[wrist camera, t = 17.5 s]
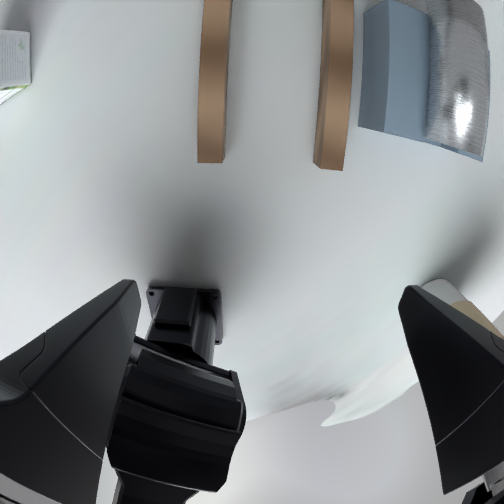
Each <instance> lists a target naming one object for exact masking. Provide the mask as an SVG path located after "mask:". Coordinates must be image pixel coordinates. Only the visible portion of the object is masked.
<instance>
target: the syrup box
mask: <svg viewBox="0 0 504 504" xmlns="http://www.w3.org/2000/svg"><path fill="white" fill-rule="evenodd" d="M30 83H31V64H30V33H29V32H25V31H15V30H3V29H0V105H1V104H2V103H3V102H5V101H6V100H8V99H9V98H10V97H12V96H13V95H15V94H16V93H18V92H19V91H21V90H23V89H24V88H26V87H27V86H29V85H30Z"/></svg>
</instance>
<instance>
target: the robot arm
mask: <svg viewBox="0 0 504 504" xmlns="http://www.w3.org/2000/svg"><path fill="white" fill-rule="evenodd" d="M150 291H152V292H154V293H151V292H150ZM146 295H147V299H148V304H149V308H150V312H151V317H152V320H151V323H150V326H149V329H148V332H147V334H146V337H145V339H142V338H140V337H138V336H136V334H135V332H136V327H137V322H138V317H139V313H140V308H141V299H140V295H139V291H138V286H137V283H136V281H135V280H128V279H123V280H121V281H120V282H118V283H117V284H115V285H114V286H112V287H111V288H109V289H107V290H106V291H104V292H103V293H101V294H100V295H98V296H97V297H95V298H94V299H92V300H91V301H89V302H88V303H86V304H84V305H83V306H81V307H80V308H78V309H77V310H76V311H74V312H73V313H71V314H70V315H68V316H67V317H65V318H64V319H62V320H61V321H59V322H58V323H56V324H55V325H54V326H52V327H51V328H49V329H48V330H46V333H45V332H43V333H42V334H41V335H39V336H38V337H36V338H35V339H34V340H32V341H31V342H29V343H28V344H26V345H25V346H23V347H22V348H20V349H18V350H17V351H15V352H14V353H12V354H11V355H9V356H7V357H6V358H4V359H2V360H1V361H0V504H96V497H97V490H98V484H99V478H100V473H101V467H102V460H103V456H104V451H105V447H106V448H107V454H108V458H109V461H110V464H111V467H112V468H114V469H115V471H116V474H117V476H118V481H117V485H116V489H115V493H114V498H113V503H112V504H185V503H186V501H187V500H188V499H189V498H191V497H193V496H194V495H195V494H197V493H198V492H199V491H205V492H212V493H215V492H217V491H218V490H219V489H220V488H221V487H222V486H223V485H224V483H225V482H226V479H227V475H228V470H229V464H230V461H231V457H232V454H233V451H234V448H235V446H236V444H237V442H238V440H239V439H240V437H241V435H242V432H243V430H244V426H245V422H246V406H245V402H244V399H243V395H242V391H241V387H240V383H239V379H238V375H237V372H234V371H231V370H229V371H227V370H224V369H221V368H218V367H215V366H212V363H213V354H214V345H220V344H221V343H222V313H221V293H220V291H218V290H214V289H194V288H175V287H155V286H150V287H148V289H147V291H146ZM213 295H217V296H216V297H214V296H213ZM398 311H399V314H400V318H401V322H402V325H403V329H404V333H405V337H406V341H407V345H408V348H409V351H410V354H411V357H412V360H413V363H414V366H415V369H416V373H417V376H418V379H419V382H420V386H421V389H422V392H423V396H424V400H425V403H426V407H427V411H428V415H429V419H430V423H431V427H432V431H433V436H434V441H435V445H436V451H437V456H438V462H439V468H440V474H441V481H442V489H443V493H444V495H446V494H448V493H450V492H452V491H454V490H456V489H458V488H460V487H462V486H464V485H466V484H468V483H469V482H471V481H473V480H475V479H477V478H478V477H480V476H482V477H483V480H484V482H482V483H481V484H479V485H478V486H476V487H475V488H473V489H472V490H470V491H468V492H467V493H466V495H465V498H464V500H463V502H462V504H504V340H503V339H502V338H500V337H499V336H497V335H496V334H494V333H493V332H491V331H489V330H488V329H487V328H485V327H483V326H482V325H480V324H479V323H477V322H476V321H474V320H473V319H471V318H470V317H468V316H467V315H465V314H463V313H462V312H460V311H459V310H457V309H455V308H454V307H452V306H451V305H449V304H447V303H446V302H444V301H442V300H441V299H439V298H438V297H436V296H434V295H433V294H431V293H429V292H428V291H426V290H424V289H423V288H421V287H419V286H417V285H408V286H407V287H406V288H405V290H404V292H403V295H402V297H401V299H400V302H399V305H398Z"/></svg>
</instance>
